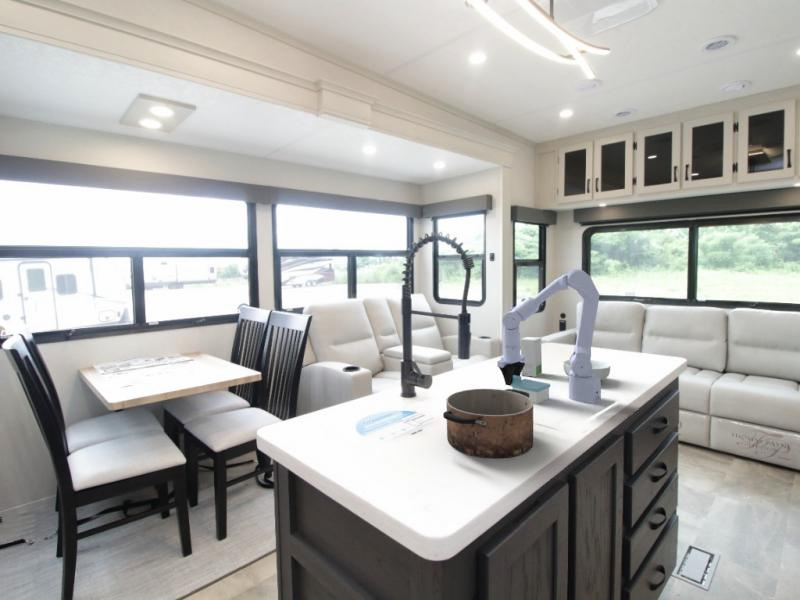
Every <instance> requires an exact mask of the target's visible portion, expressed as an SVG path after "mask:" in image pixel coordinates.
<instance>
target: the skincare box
mask: <svg viewBox="0 0 800 600" xmlns="http://www.w3.org/2000/svg"><path fill="white" fill-rule="evenodd" d="M520 355H525V361H521V362H522V363H525V366H524V367H523V369H522V371H521V374H520V376H522V375H525V377H530V376H532V377H531V378H536V377H538V376H540V375H541V373H542V374H543V369H542V368H543V367H542V365H543V363H542V361H543V360H542V359H543V358H542V355H543V354H542V337H537V336H535V337H534V336H526V337H523V338H522V337H521V338H520Z"/></svg>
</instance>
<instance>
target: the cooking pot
mask: <svg viewBox="0 0 800 600" xmlns="http://www.w3.org/2000/svg"><path fill="white" fill-rule="evenodd" d="M445 400H446V402H445V403H446V411H444V412H443V415H442V417H443V418H444V419H445V420H446V436H447V437H446V438H447V441H448V443H449V444H450V445H451V446H452V447H453V448H454V449H455V450H456V451H459V452H461V453H463V454H465V455H469V456H473V457H478V458H485V459H509V458H514V457H518V456H521V455H524V454H526V453H527V452H528V451H530V450H531V448H532V447H533V445H534V403H533V402H532V400H531V399H530V398H529V393H527V392H523V391H519V390H514V389H513V388H507V389H500V388H499V389H497V388H473V389H472V388H471V389H466V390H461V391H456V392H454V393H452V394H449V396H448V397H447V398H446V399H445Z"/></svg>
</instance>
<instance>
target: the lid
mask: <svg viewBox="0 0 800 600" xmlns="http://www.w3.org/2000/svg"><path fill="white" fill-rule="evenodd" d="M510 387H511V388H513V387H515V388H520V389H524V390H529V391H533V392H539V391H541V390H544V389H546V388H548V387H549V388H551V383H549V382H548V383H547V382H542V381H537V380H534V379H527V378H524V379H522V375H520V376H515V375H513V380H512V384H511V386H510Z"/></svg>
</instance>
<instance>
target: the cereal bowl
mask: <svg viewBox="0 0 800 600" xmlns="http://www.w3.org/2000/svg"><path fill="white" fill-rule="evenodd" d="M591 364H592V371H591V372H592V376H594V377H597V378H599V379H600V381H604V380H606V379H607V378H608V377H609V375H610V372H611V365H610V364H609V363H606V362H604V361H599V360H594V359H593V360H592V359H591ZM563 370H564V373H565V375H566V376H568V377H569V372H570V371H571V365H570V363H569V359H568V360H565V361H563Z"/></svg>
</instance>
